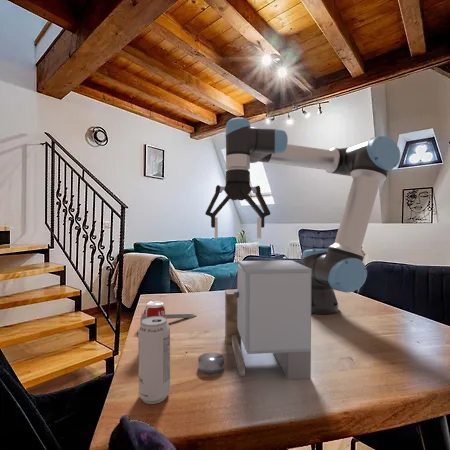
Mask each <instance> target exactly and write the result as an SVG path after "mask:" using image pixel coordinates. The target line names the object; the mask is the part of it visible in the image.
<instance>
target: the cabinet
mask: <svg viewBox="0 0 450 450" xmlns="http://www.w3.org/2000/svg"><path fill="white" fill-rule="evenodd" d="M236 280H237V281H236V282H237V284H236V285H237V288H236V290H237V291H235V292H234V294H233V295H234V297H235V298H237V328H238V331H239V334H240V336H241V343H242V344H243V347H244V349H245V351H246V354H247V355H257V354H258V355H259V354H273V355H274V357H275V358H276V360H277V362H278V364H279V366H280V367H281V369H282V371H283V373H284V374H285V376H286V378H287V379H288V380H289V381H290V380H309V379H311V378H312V377H311V376H312V374H311V373H312V372H311V371H312V365H311V364H312V347H311V346H312V313H311V269H310V268H308V267H306V266H304V265H302V263H300V262H296V261H294V260H290V259H289V260H288V259H287V260H285V259H284V260H283V259H282V260H278V259H277V260H276V259H275V260H238V264H237V279H236Z"/></svg>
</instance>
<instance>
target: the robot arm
mask: <svg viewBox="0 0 450 450" xmlns="http://www.w3.org/2000/svg"><path fill="white" fill-rule="evenodd" d="M225 127H226V128H225V169H226V171H225V186H222V185H219V184H217V185H216V187H215V191H214V192H215V193H214V194H213V197H212V199H211V200H210V203H209V205H208V207H207V209H206V210H205V212H204V213H205V215H206V216H208V217H210V227H211V228H213V229H214V239H216V240H217V239H218V236H219V235H218V233H219V231H218V229H219V228H218V227H219V226H218V224H219V223H218V221H219V219H218V217H216V216H217V215H218V214H219V212H220V211H221V210H222V209H223V207H224V206H225V205H226V204H227V203H228V202H229V200H231V201H243V200H244V201H246V202H247V203H248V204H249V206H250V207H251V208H252V209H253V210H254V211H255V213H256V215H258V216H259V217H256V238H257V239H262V228H264V227H265V218H266V217H268V216H271V211H270V209H269V206H268V205H267V203H266V201H265V198H264V197H263V194H262V193H261V186H260V185H256V186H251V171H249V170H250V169H251V164H256V163H258V162H260V163H268V164H276V165H283V166H284V165H285V166H291V167H301V168H306V169H307V168H309V169H316V170H322V171H323V170H324V171H326V173H327V174H335V175H340V176H347V177H351V178H352V181H351V185H350V189H349V193H348V195H347V198H346V203H345V207H344V210H343V212H342V215H341V216H342V217H341V219H340V223H339V226H338V229H337V233H336V237H335V240H334V242H333V244H331V245H329V246H328V247H327V248H322V249H319V248H318V249H305V250H304V251H302V257H301V265H304V266H306V267H308V268H310V269H311V314H317V315H331V314H335V313H337V312H339V302H338V299H337V297H336V293H335V291H338V292H342V293H353V292H355V291H357V290H359V289H360V288H361V287H362V286H363V285H364V284H365V282H366V279H367V277H368V270H367V268H366V264H365V263H364V262H363V261H364V258H365V256H364V254H363V252H362V247H363V243H364V240H365V236H366V233H367V230H368V226H369V222H370V219H371V215H372V212H373V208H374V206H375V201H376V198H377V195H378V191H379V187H380V184H382V183H383V182H385V181H386V180H387V177H388V174H389V171H391V170H393V169H395V168H396V167H397V166H398V165H399V163H400V161H401V150H400V147H399V146H398V143H397V142H396V141H395V140H394V139H393V138H392V137H389V136H387V135H380V136H379V135H378V136H375V137H371V138H369V139H368V140H365V141H363V142H360V143H356V144H354V145H351V146H348V147H342V148H337V147H331V148H330V149H324V148H317V147H310V146H305V145H304V146H303V145H297V144H289V143H288V142H289V141H288V140H289V139H288V134H287V132H286V131H285V130H283V129H276V128H265V127H264V128H261V127H252V126H251V122H250V120H249V119H247V118H244V117H235V118H231V119H229V120H228V121H227V122H226V125H225ZM251 191H252V193H253V194H255V197H256V199H257V201H258V203H259V205H260V207H261V209H260V207H259V206H258V204H257V203H256V201H254V200H253V198H252V197H251V196H250V193H251ZM223 192H225V194H226V196H225V198H224V199H223V200H221V202H220V203H219V205H218V206H217V207H216V208H215V210H213V212H212V209H213V207H214V205H215V203H216V202H217V199H218V197H219V196H220V194H222V193H223Z"/></svg>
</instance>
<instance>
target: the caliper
mask: <svg viewBox="0 0 450 450" xmlns="http://www.w3.org/2000/svg"><path fill="white" fill-rule="evenodd" d="M194 317H197V314H195V313H193V312H182V313H181V312H180V313H179V312H178V313H176V312H175V313H173V312H172V313H165V318H166V319H167V320H168V319H191V318H194ZM145 318H146V311H145V309H144V311H143V312H141V317H140V325H139V327H140V326H141V324H142V320H143V319H145Z"/></svg>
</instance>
